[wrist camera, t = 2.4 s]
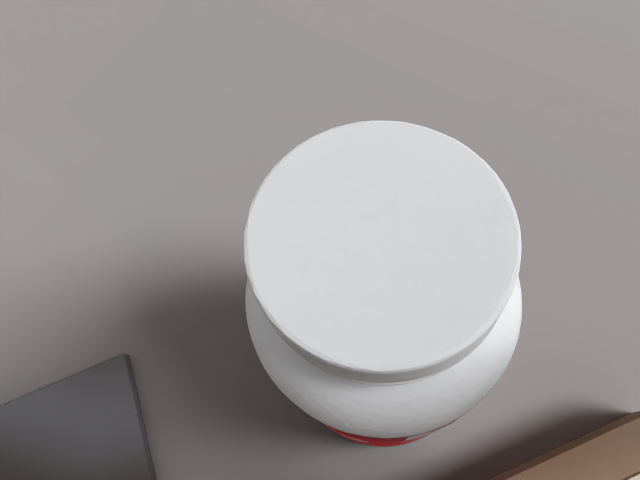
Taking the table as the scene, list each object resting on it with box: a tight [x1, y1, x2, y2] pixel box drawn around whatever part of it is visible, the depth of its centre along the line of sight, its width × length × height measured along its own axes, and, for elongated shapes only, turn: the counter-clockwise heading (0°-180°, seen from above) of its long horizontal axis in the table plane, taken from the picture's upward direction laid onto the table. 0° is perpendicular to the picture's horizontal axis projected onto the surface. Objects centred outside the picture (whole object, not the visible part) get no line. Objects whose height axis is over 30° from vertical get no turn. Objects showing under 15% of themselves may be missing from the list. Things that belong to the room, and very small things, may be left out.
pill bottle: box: [243, 121, 522, 447], centre depth 13 cm, size 6×6×11 cm
